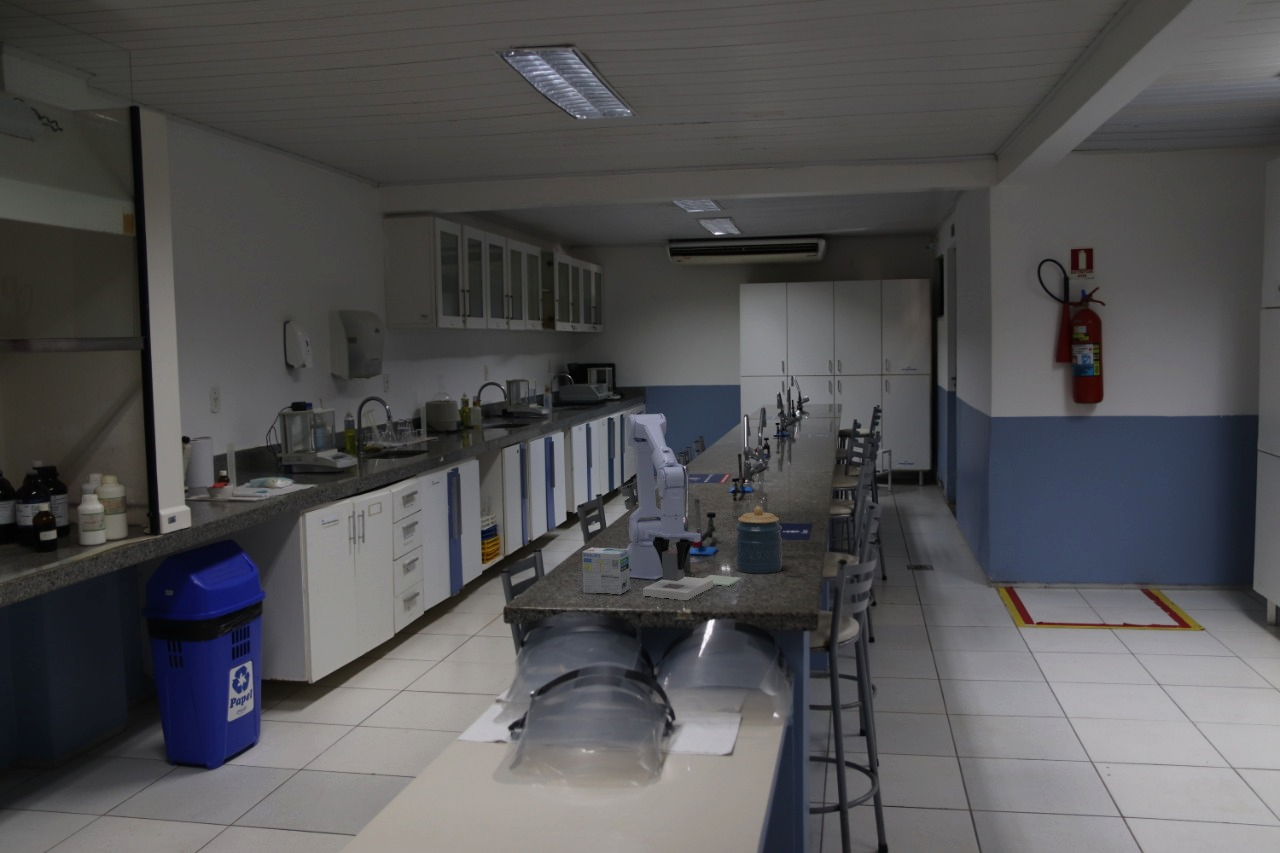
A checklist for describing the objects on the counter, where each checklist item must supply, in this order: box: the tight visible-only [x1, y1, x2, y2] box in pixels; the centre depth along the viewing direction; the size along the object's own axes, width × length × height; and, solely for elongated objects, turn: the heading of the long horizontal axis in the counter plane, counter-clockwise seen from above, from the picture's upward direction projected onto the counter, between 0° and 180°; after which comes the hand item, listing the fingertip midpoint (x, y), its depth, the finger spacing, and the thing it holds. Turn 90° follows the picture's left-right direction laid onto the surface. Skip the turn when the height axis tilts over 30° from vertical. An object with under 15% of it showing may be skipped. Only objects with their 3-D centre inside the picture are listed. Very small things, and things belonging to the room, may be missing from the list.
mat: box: [703, 574, 743, 587], centre depth 266 cm, size 9×9×1 cm
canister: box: [734, 505, 783, 574], centre depth 280 cm, size 13×13×18 cm
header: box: [642, 576, 714, 601], centre depth 255 cm, size 12×16×2 cm
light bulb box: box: [581, 546, 631, 595], centre depth 257 cm, size 11×7×11 cm, turn 71°
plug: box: [662, 548, 685, 581], centre depth 252 cm, size 4×4×7 cm
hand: (673, 568), depth 252 cm, fingers closed on plug, 4 cm apart
